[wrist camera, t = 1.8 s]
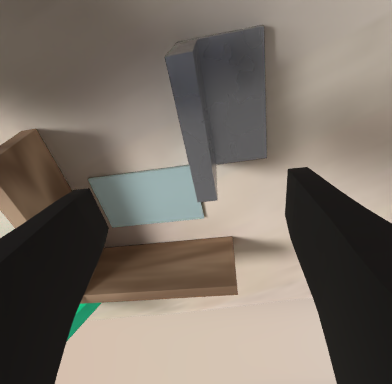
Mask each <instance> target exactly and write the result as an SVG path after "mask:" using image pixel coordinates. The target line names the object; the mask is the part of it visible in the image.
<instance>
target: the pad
mask: <svg viewBox="0 0 392 384" xmlns="http://www.w3.org/2000/svg"><path fill="white" fill-rule="evenodd" d="M88 181H89V183H90V185H91V187H92V189H93V191H94V193H95V195H96V197H97V198H98V200H99V202H100V204H101V206H102V208H103V210H104V212H105V214H106V216H107V218H108V220H109V222H110V224H111V226H112V228H114V227H123V226H133V225H143V224H153V223H163V222H173V221H182V220H192V219H202V218H204V214H203V209H202V204H201V202H197V197H196V193H195V189H194V184H193V180H192V175H191V171H190V166H189V165H185V166H177V167H170V168H162V169H155V170H147V171H140V172H132V173H125V174H117V175H110V176H102V177H95V178H89V179H88Z"/></svg>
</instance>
